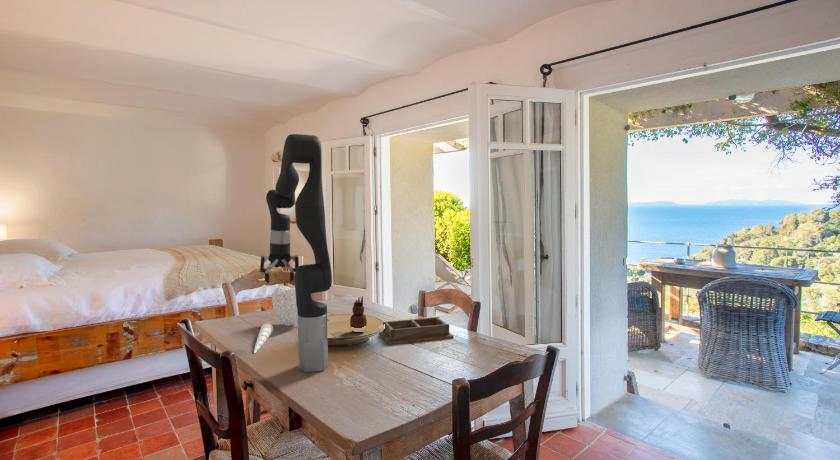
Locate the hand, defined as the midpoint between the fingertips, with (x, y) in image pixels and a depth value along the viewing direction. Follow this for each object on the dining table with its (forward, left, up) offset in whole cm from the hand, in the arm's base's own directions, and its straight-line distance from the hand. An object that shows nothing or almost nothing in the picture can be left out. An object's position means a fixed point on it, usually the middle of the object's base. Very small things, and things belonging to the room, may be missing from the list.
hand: (279, 281), depth 161 cm
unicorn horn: (-4, +7, -23) cm, 24 cm away
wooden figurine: (-3, -30, -23) cm, 38 cm away
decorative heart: (+16, -3, -23) cm, 28 cm away
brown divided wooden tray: (-15, -51, -22) cm, 58 cm away
